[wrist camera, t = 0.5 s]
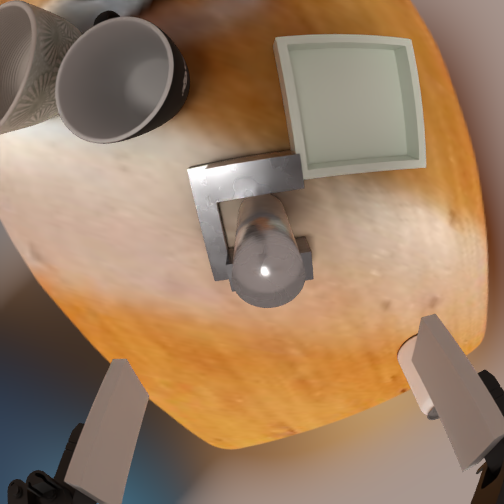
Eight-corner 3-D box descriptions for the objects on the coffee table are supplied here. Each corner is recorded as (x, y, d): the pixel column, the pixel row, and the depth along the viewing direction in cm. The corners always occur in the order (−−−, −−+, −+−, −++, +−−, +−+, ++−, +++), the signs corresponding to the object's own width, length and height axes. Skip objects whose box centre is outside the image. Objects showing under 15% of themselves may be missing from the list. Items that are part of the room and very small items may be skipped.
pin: (234, 196, 28) (224, 250, 17) (281, 189, 28) (302, 238, 17) (243, 240, 30) (239, 312, 19) (287, 232, 30) (308, 302, 19)
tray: (272, 46, 22) (275, 37, 19) (395, 45, 21) (411, 39, 18) (294, 173, 27) (299, 180, 24) (410, 161, 26) (426, 167, 23)
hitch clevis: (189, 167, 27) (181, 174, 24) (293, 149, 26) (299, 153, 23) (215, 276, 32) (212, 294, 29) (307, 262, 31) (313, 279, 28)
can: (431, 352, 39) (462, 407, 28) (397, 368, 40) (422, 427, 29) (433, 325, 36) (470, 383, 25) (395, 342, 37) (426, 406, 26)
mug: (215, 110, 25) (195, 106, 15) (131, 148, 26) (78, 167, 17) (173, 8, 20) (139, -35, 11) (94, 50, 21) (35, 34, 12)
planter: (119, 27, 20) (60, -4, 10) (77, 137, 25) (8, 155, 15) (40, 19, 18) (-21, 5, 8) (7, 115, 23) (-57, 128, 13)
